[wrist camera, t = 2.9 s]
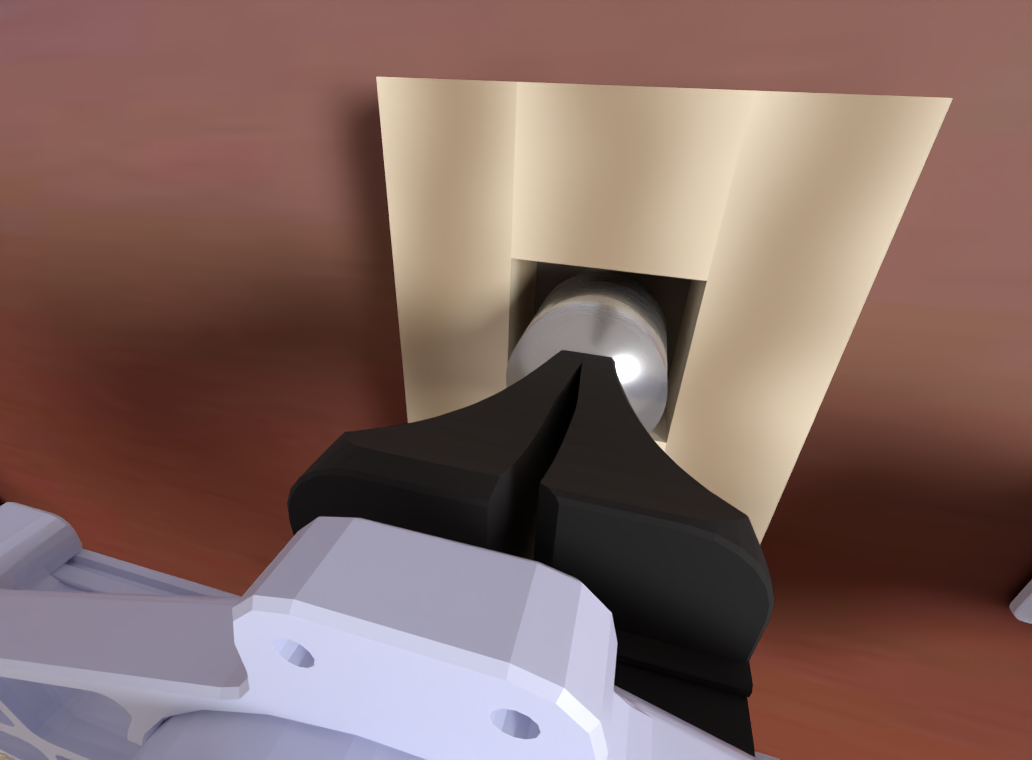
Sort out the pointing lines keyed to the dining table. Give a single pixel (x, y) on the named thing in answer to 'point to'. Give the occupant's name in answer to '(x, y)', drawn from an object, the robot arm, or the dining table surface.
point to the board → (651, 242)
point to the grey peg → (602, 336)
